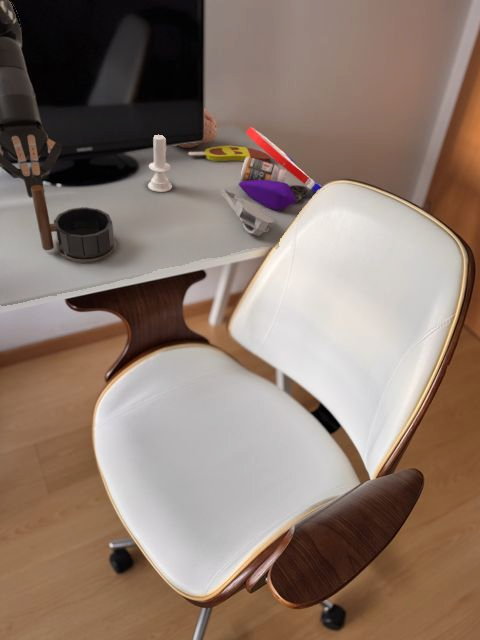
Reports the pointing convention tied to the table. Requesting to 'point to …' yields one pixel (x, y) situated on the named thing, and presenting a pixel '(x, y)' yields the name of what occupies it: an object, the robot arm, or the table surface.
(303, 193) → the corroded twin loop
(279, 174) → the pill bottle
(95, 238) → the wooden handled pot
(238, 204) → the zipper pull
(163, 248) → the table surface
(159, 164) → the candle
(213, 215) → the table surface
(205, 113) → the anatomical model
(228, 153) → the popsicle
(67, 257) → the round base
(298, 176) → the red toothbrush
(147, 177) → the table surface
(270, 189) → the purple lump
